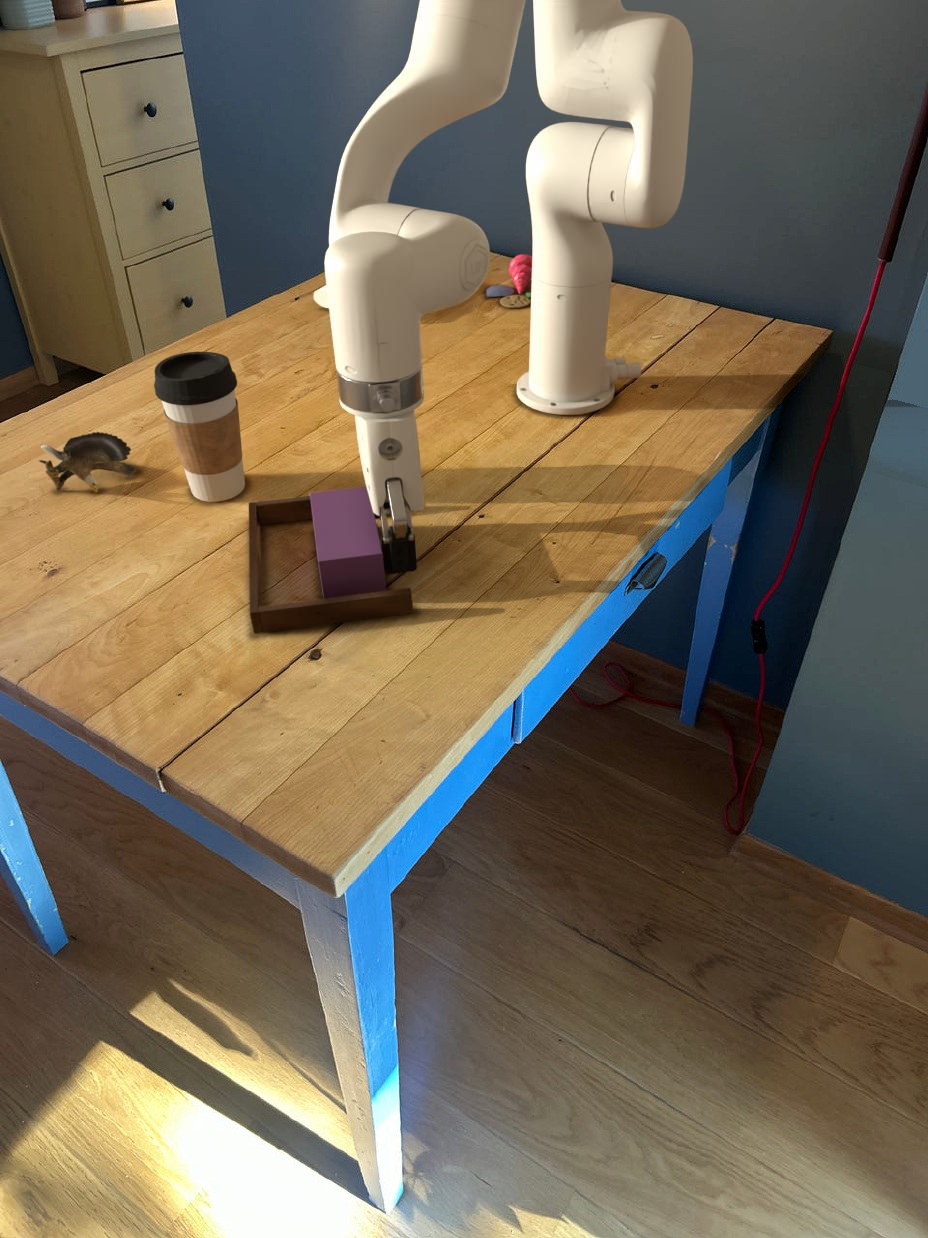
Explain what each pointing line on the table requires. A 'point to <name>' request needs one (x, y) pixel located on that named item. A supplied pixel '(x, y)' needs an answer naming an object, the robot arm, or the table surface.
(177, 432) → the coffee cup
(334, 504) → the plum block
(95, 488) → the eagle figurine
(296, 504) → the walnut bay
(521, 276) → the toy pieces
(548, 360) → the robot arm
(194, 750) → the table surface
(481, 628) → the table surface
